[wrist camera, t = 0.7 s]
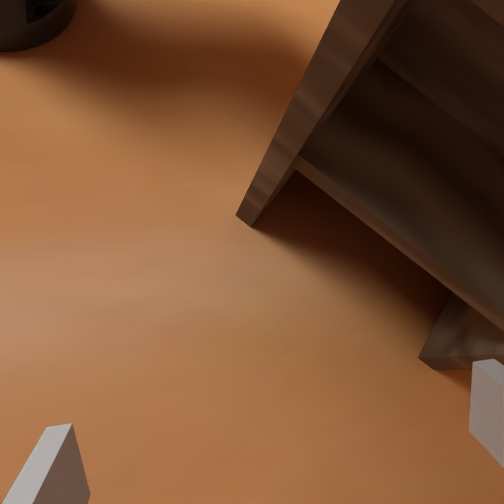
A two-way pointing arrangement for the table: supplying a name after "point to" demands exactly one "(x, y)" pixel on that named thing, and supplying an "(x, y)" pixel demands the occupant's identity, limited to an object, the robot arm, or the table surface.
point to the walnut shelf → (410, 150)
